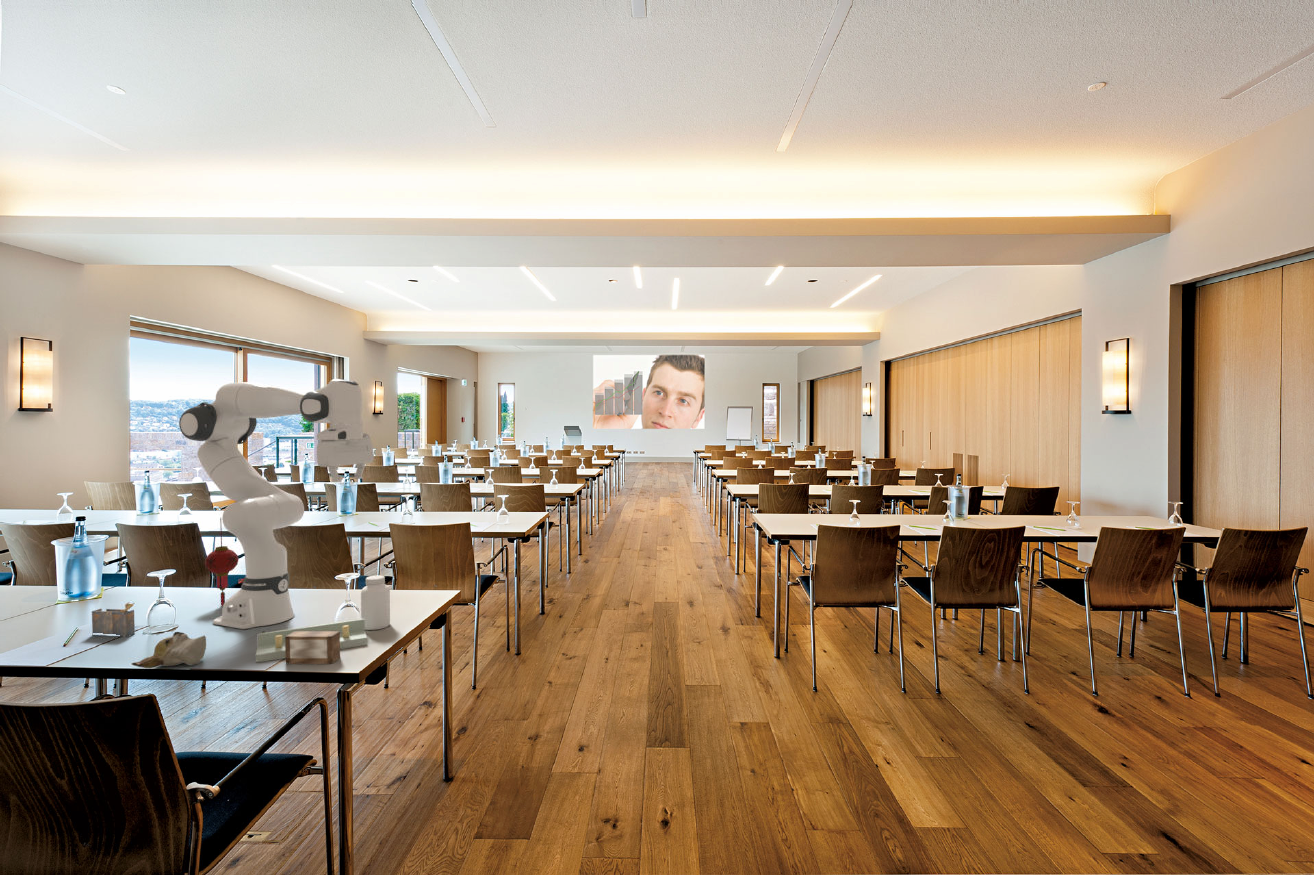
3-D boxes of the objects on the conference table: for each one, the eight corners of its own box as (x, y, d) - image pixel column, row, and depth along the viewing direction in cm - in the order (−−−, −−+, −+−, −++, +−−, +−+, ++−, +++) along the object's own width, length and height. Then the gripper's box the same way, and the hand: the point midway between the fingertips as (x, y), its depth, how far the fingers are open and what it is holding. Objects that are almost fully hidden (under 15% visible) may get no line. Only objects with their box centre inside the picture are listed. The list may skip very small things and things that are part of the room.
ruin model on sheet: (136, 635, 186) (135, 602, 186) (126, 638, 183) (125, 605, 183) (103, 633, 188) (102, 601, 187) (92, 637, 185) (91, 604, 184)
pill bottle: (379, 631, 186) (378, 580, 186) (355, 629, 188) (354, 579, 187) (395, 623, 194) (394, 574, 193) (372, 621, 195) (371, 573, 195)
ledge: (255, 662, 162) (255, 642, 162) (258, 652, 169) (257, 633, 169) (366, 644, 175) (366, 626, 175) (364, 636, 182) (364, 618, 182)
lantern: (198, 608, 211) (196, 519, 210) (223, 600, 220) (221, 515, 219) (222, 610, 209) (219, 520, 208) (246, 602, 218) (244, 515, 217)
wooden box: (285, 663, 161) (285, 636, 161) (295, 657, 165) (294, 631, 165) (332, 663, 161) (331, 636, 161) (340, 657, 165) (339, 631, 165)
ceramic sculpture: (190, 636, 157) (127, 641, 156) (193, 670, 157) (130, 676, 156) (217, 623, 167) (158, 628, 166) (220, 655, 167) (161, 661, 167)
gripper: (360, 433, 198) (361, 477, 199) (312, 434, 178) (313, 483, 179) (378, 433, 197) (379, 477, 197) (331, 434, 177) (332, 483, 177)
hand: (347, 480), depth 188 cm, fingers open, 8 cm apart
